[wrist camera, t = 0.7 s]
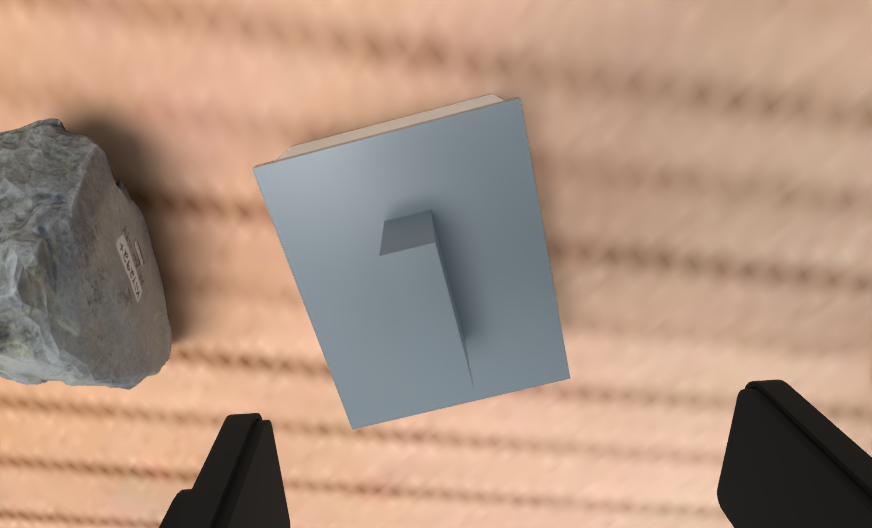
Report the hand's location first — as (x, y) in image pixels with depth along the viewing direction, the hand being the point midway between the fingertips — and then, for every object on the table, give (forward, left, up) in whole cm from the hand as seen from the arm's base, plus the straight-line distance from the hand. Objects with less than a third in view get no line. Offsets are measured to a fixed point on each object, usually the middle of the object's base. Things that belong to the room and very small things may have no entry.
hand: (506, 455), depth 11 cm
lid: (-4, +2, -20) cm, 21 cm away
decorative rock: (+1, +21, -26) cm, 34 cm away
